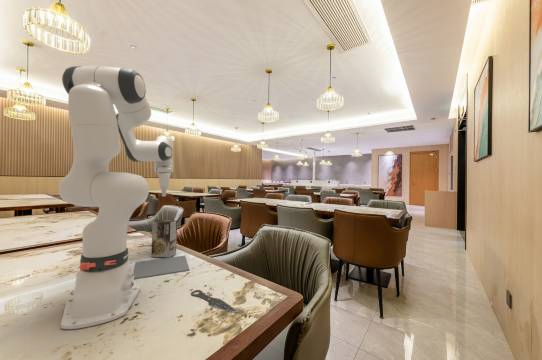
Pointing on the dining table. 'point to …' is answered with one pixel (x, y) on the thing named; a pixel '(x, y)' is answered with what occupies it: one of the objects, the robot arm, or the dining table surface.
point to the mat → (160, 267)
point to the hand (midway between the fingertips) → (163, 195)
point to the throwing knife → (214, 301)
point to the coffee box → (164, 238)
